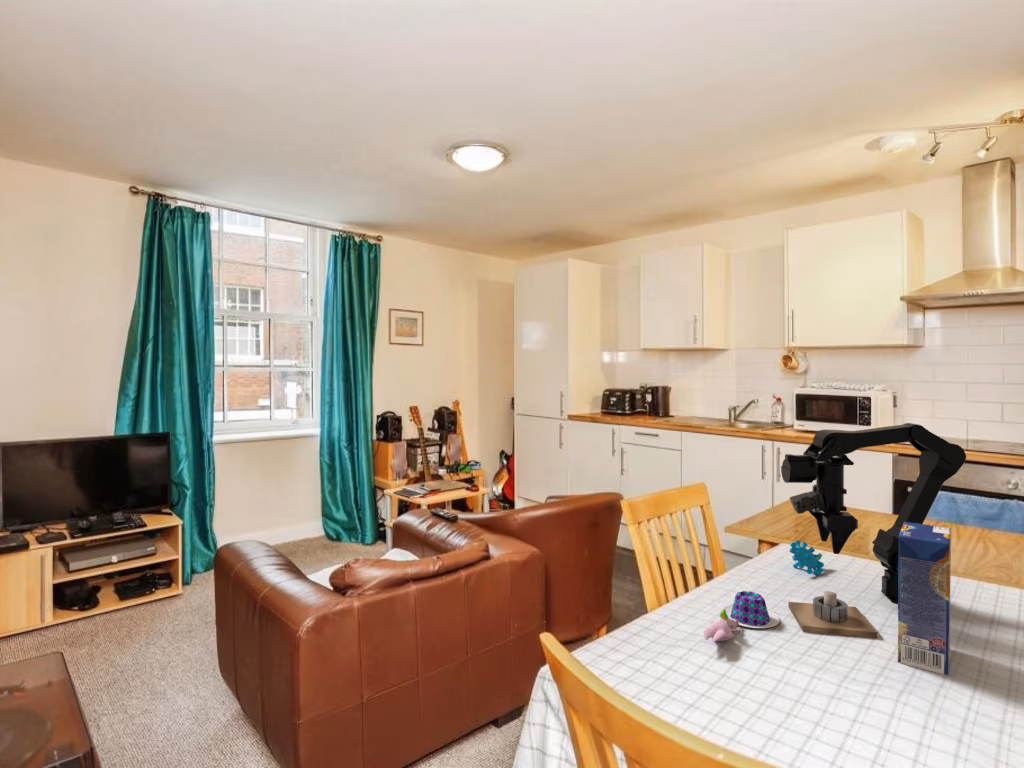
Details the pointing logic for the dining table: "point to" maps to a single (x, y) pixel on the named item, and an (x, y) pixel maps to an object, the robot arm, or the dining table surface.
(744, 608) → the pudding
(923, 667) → the juice carton
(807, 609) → the shaft stand
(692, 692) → the dining table surface
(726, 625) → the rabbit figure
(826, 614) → the hub ring
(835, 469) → the robot arm
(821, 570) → the gear
